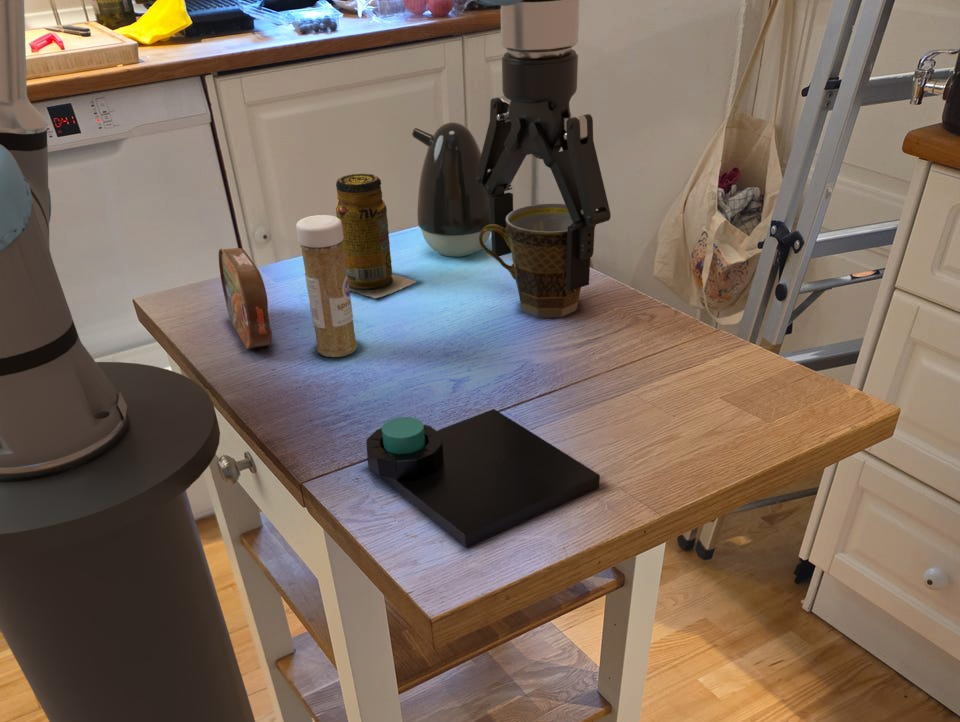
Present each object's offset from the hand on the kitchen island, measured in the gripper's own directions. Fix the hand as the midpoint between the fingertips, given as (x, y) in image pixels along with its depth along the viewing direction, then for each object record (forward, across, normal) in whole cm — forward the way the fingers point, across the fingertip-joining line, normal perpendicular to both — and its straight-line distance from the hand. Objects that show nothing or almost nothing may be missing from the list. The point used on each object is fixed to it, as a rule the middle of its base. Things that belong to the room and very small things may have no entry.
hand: (538, 270), depth 101 cm
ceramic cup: (+4, 0, 0) cm, 5 cm away
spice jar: (+4, +5, +24) cm, 25 cm away
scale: (+4, -26, +27) cm, 38 cm away
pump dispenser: (+4, +22, -4) cm, 23 cm away
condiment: (+4, +19, +11) cm, 23 cm away
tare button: (+1, -21, +32) cm, 38 cm away
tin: (+4, +15, +30) cm, 34 cm away
